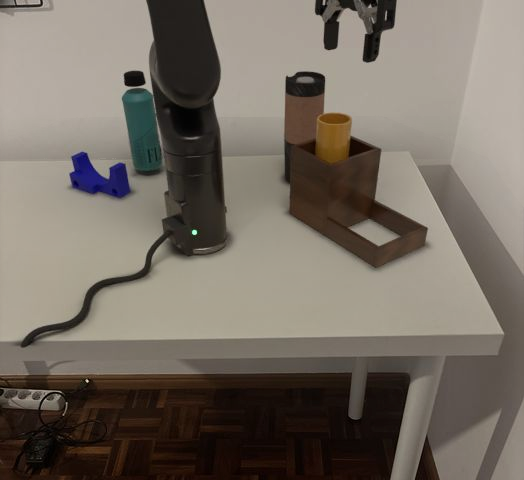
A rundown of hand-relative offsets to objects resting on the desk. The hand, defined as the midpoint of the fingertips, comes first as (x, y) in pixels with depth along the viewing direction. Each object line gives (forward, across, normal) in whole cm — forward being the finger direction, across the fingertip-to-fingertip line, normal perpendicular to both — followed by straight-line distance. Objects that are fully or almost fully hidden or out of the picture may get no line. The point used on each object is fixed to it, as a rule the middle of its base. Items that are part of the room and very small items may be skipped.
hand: (349, 55), depth 85 cm
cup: (+19, -3, +1) cm, 20 cm away
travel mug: (+28, -18, +7) cm, 35 cm away
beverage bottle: (+29, -42, -17) cm, 53 cm away
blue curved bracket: (+29, -40, -29) cm, 57 cm away
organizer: (+28, +4, +1) cm, 29 cm away
